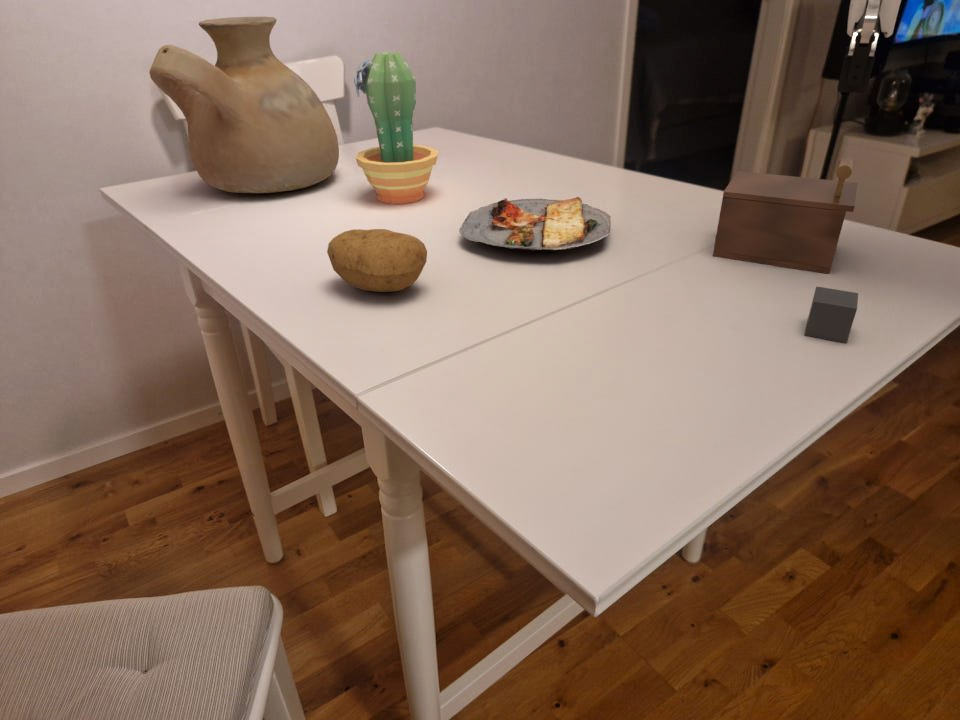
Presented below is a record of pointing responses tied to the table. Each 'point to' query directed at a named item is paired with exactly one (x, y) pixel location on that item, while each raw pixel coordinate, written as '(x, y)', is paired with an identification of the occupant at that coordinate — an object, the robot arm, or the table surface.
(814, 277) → the table surface
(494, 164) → the table surface
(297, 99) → the jug
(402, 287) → the potato
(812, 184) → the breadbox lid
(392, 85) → the potted cactus
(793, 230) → the box
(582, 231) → the food plate
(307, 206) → the table surface
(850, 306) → the block
